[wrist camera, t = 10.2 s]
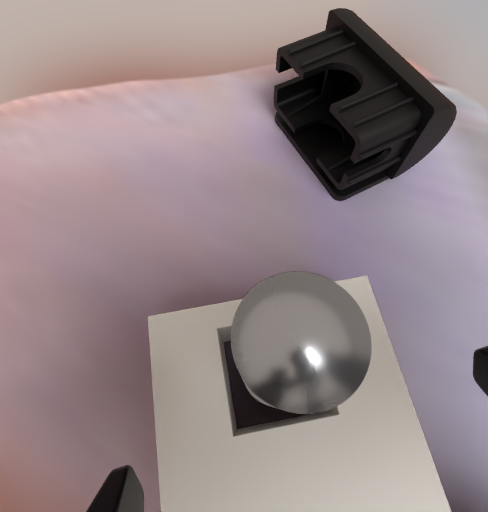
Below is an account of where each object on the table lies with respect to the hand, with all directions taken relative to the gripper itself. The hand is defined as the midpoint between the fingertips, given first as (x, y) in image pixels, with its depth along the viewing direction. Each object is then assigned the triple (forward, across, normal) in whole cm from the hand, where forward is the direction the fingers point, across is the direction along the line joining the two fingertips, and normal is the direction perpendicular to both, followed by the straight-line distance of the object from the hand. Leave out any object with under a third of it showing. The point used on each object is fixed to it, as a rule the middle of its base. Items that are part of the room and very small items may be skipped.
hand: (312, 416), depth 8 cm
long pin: (+9, 0, +6) cm, 11 cm away
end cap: (+19, -11, -4) cm, 22 cm away
